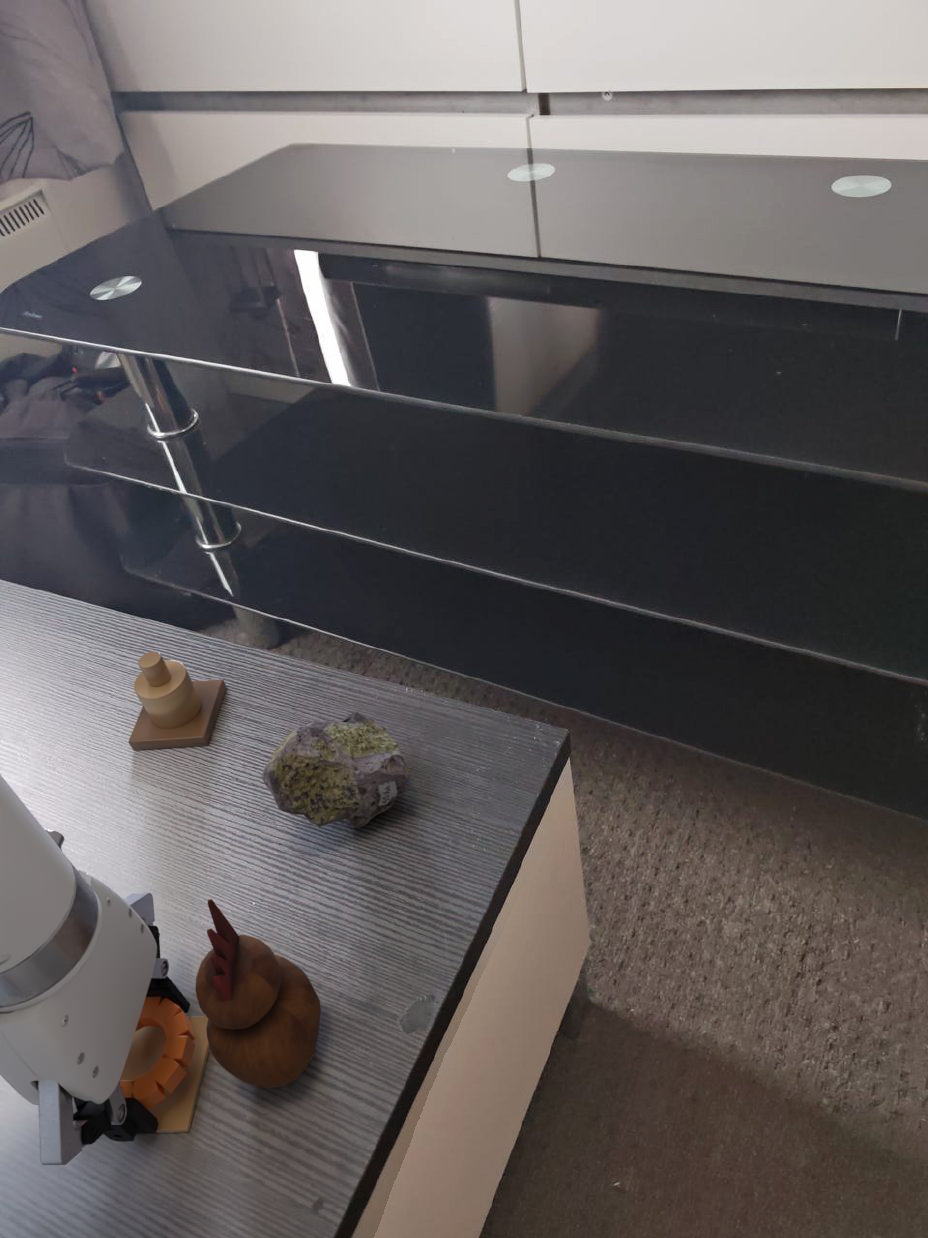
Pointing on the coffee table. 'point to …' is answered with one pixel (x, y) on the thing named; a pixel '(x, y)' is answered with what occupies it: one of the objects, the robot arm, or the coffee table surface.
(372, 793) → the rock
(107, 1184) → the coffee table surface
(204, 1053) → the coaster
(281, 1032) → the wooden figurine
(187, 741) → the post
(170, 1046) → the ring
